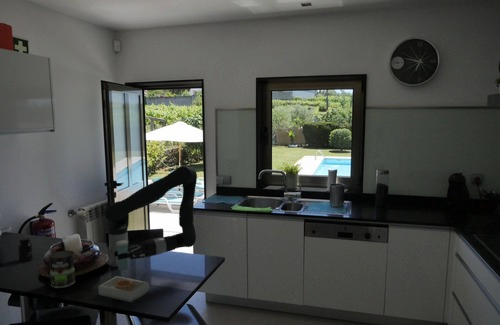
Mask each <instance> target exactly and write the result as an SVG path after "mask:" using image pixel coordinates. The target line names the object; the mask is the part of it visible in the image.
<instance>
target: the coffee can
mask: <svg viewBox="0 0 500 325" xmlns="http://www.w3.org/2000/svg"><path fill="white" fill-rule="evenodd" d="M48 258H49V275H50V287H51V286H52V288H53V287H54V288H53V289H62V288H67V287H70V286H72V285H73V284H75V283H76V272H75V268H74V259H75V252H74V251H73V250H59V251H54V252H52V253H51V254H49V256H48Z"/></svg>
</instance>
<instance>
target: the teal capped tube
mask: <svg viewBox="0 0 500 325" xmlns="http://www.w3.org/2000/svg"><path fill="white" fill-rule="evenodd" d="M127 244H128V245H129V240H128V241H127V240H121V241H118V242H116V245H117V246H118V254H122V253H127V252H128V249H127ZM128 259H129V258H125V259H121V260H118V265H119V267H118V271H127V270H128V269H129V263H128Z"/></svg>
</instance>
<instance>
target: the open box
mask: <svg viewBox="0 0 500 325" xmlns="http://www.w3.org/2000/svg"><path fill="white" fill-rule="evenodd" d="M149 287H150V286H149V282H148V281H144V280H143V281H142V280H137V279H133V278H128V277H123V276H120V275H119V276H118V275H116V276H114V277H113V278H111V279H109V280H107V281H105V282H103V283H101V284H99V285H98V295H99V296H103V297H106V298H112V299H115V300H121V301H125V302H129V303H134V302H135V301H137V300H138V299H140V298H141V297H142V296H144V295H146V292H147V293H148V292H149V291H150V288H149Z"/></svg>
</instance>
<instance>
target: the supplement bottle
mask: <svg viewBox="0 0 500 325" xmlns="http://www.w3.org/2000/svg"><path fill="white" fill-rule="evenodd" d="M17 255H18V256H17V257H18V262H19V263H29V262H31V261H33V259H34V251H33V243H32V242H31V237H22V238H20V239H19V244H18V245H17Z"/></svg>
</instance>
